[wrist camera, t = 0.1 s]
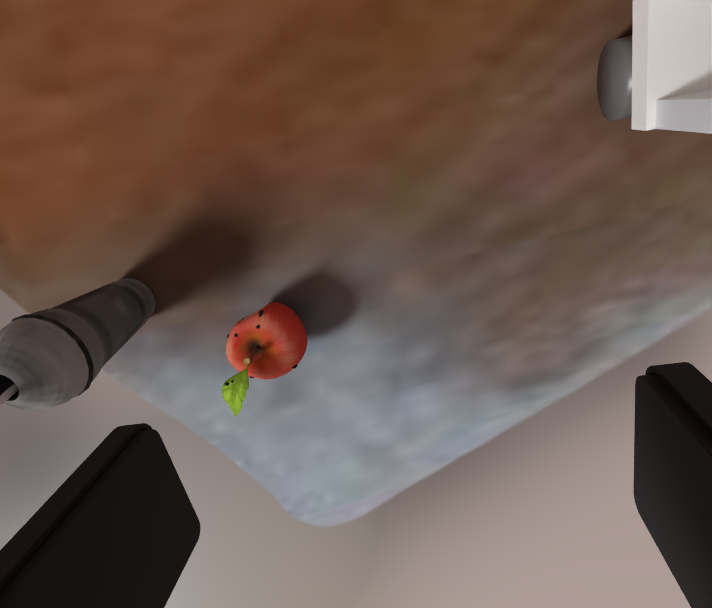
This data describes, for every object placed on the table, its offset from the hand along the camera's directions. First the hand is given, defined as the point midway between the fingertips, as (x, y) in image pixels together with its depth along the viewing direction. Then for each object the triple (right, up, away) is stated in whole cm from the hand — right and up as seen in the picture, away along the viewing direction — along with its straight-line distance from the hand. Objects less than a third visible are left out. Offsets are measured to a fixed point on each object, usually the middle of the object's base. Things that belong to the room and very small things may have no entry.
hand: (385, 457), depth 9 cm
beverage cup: (-22, +4, +36) cm, 42 cm away
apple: (-8, +1, +35) cm, 36 cm away
